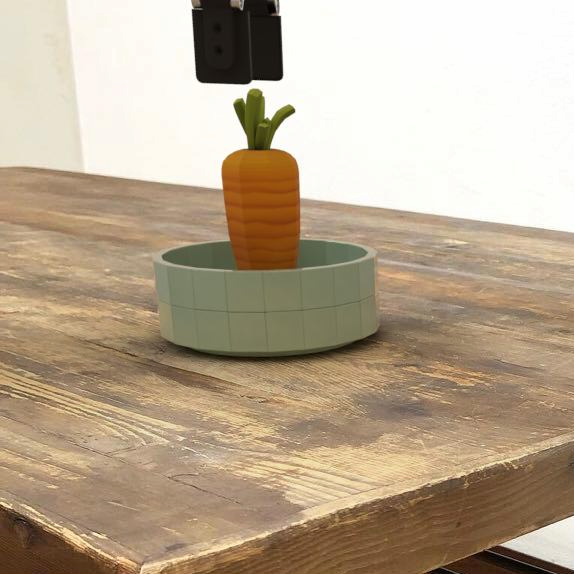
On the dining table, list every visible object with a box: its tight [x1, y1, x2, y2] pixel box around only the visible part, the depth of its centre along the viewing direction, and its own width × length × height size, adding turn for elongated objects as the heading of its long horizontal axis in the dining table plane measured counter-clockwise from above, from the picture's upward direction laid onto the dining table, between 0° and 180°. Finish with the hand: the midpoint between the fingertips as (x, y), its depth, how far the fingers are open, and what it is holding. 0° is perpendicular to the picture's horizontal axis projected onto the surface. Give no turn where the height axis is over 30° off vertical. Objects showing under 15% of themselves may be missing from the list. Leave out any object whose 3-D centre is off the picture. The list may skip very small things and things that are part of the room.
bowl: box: [151, 237, 381, 358], centre depth 81 cm, size 14×14×6 cm
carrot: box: [220, 87, 301, 270], centre depth 79 cm, size 5×5×15 cm
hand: (242, 81), depth 77 cm, fingers open, 9 cm apart
